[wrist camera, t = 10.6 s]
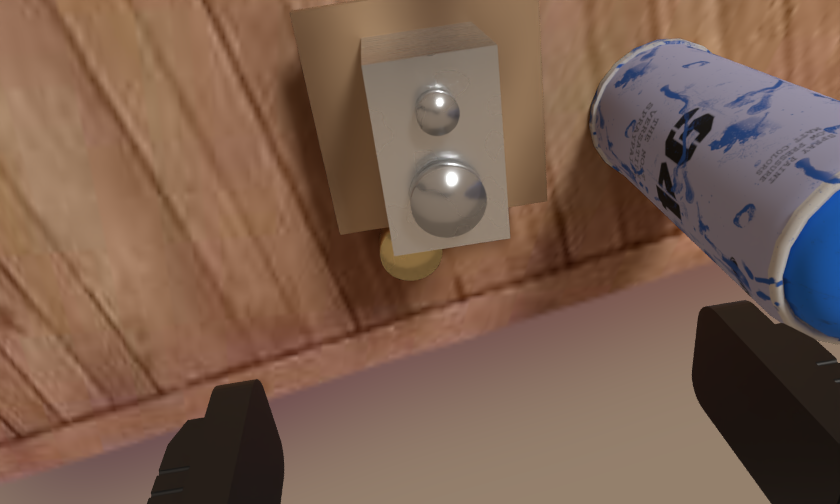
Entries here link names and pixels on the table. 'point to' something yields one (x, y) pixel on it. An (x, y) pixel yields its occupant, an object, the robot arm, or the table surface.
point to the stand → (348, 108)
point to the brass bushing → (407, 260)
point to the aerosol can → (734, 171)
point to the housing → (438, 135)
